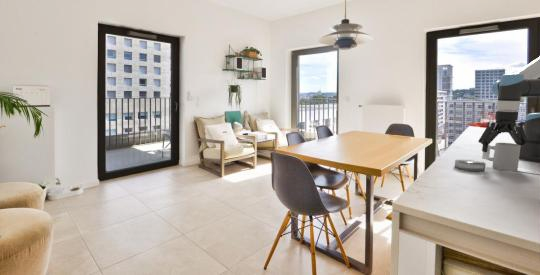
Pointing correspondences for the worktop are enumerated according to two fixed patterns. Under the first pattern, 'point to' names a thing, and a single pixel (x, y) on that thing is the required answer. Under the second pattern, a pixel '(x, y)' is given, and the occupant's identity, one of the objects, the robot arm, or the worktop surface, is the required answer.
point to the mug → (505, 156)
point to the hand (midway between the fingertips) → (500, 159)
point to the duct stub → (470, 165)
